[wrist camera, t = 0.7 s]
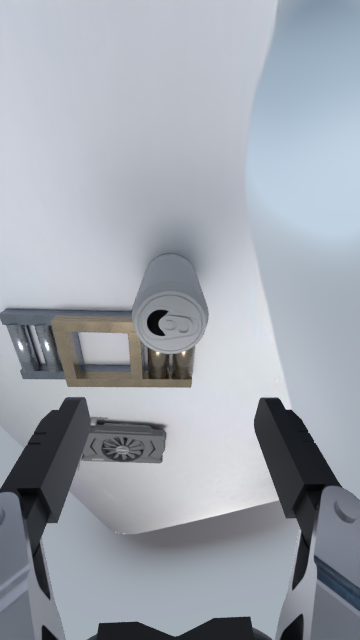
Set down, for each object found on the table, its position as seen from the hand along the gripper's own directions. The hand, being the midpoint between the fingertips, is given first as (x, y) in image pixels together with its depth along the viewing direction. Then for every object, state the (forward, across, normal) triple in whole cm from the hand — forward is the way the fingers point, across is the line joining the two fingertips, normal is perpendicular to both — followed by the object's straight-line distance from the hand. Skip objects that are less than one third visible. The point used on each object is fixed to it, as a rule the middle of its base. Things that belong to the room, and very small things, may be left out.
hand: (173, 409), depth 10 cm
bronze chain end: (+20, +6, +10) cm, 23 cm away
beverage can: (+20, 0, 0) cm, 20 cm away
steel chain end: (+20, +13, +10) cm, 26 cm away
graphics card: (+21, +9, +32) cm, 39 cm away
